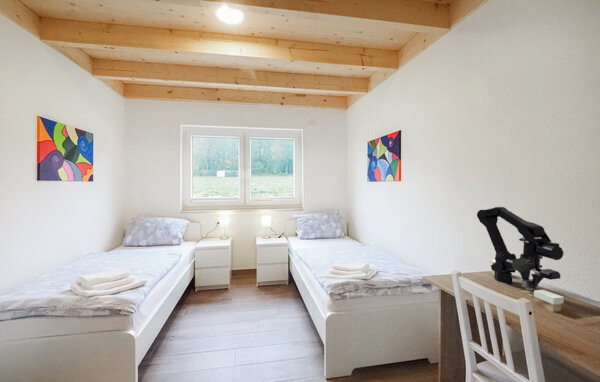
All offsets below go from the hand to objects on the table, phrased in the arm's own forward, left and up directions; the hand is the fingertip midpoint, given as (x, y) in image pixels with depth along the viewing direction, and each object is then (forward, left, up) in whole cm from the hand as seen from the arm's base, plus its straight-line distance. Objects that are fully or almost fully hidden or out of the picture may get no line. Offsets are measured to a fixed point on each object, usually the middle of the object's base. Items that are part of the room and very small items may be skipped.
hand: (529, 286), depth 114 cm
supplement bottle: (-22, +9, -4) cm, 25 cm away
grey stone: (0, 0, -2) cm, 2 cm away
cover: (+12, -7, 0) cm, 13 cm away
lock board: (+7, -3, -4) cm, 8 cm away
